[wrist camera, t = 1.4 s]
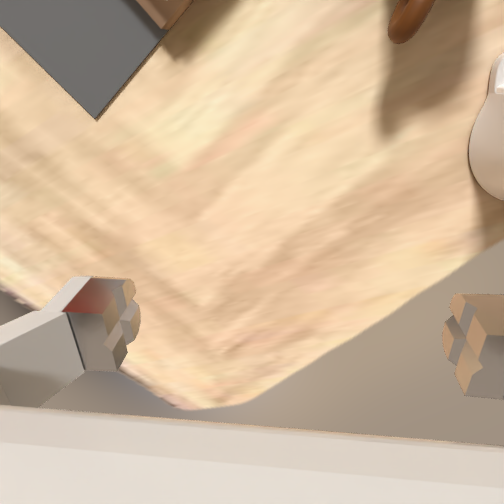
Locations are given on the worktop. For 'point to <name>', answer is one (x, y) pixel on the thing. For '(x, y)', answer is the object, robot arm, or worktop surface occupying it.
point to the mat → (83, 42)
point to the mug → (408, 19)
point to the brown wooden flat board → (165, 11)
